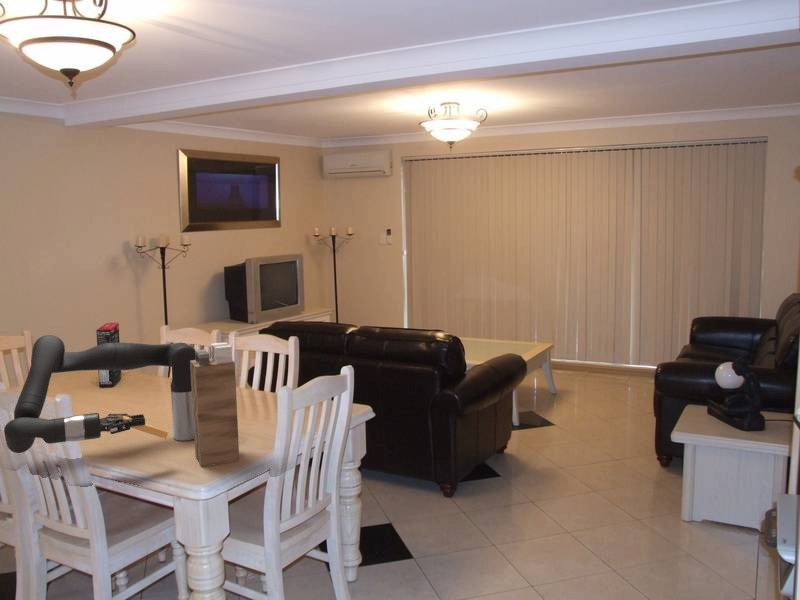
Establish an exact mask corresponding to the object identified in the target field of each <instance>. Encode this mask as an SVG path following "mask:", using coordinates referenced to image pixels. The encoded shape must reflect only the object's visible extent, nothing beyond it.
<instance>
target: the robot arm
mask: <svg viewBox="0 0 800 600" xmlns="http://www.w3.org/2000/svg"><path fill="white" fill-rule="evenodd" d="M195 350H196V349H195V347H192V346H191V345H189V344H188V343H185V342H174V343H163V344H145V343H136V342H120V343H105V344H101V345H98V346H97V345H96V346H93V347H91V348H88V349H85V350H81V351H72V352H71V351H68V352H66V347H65V343H64V342H63V340H62V339H61V338H60V337H58V336H56V335H51V334H46V335H43V336H41V337H39V338H38V339H36V341H35V342H34V343H33V345H32V350H31V357H30V367H29V370H28V373H27V377H26V379H25V382H24V385H23V387H22V389H21V391H20V395H19V396H18V400H17V402H16V405H15V408H14V411H13V419H11V420H10V421H8V422H7V423H6V424H5V426H4V430H3V434H4V437H5V443H6V446H7V448H8V450H9V451H10V452H13V453H15V454H21V453H22V454H23V453H24V452H25V453H26V452H27V451H29V449H30V448H31V447H32V446H33V445H34V443H35V440H36V438H37V439H42V441H44V443H46V444H57V443H58V444H60V443H65V442H80V441H85V440H86V441H88V440H96V439H100V438H101V437H102V436H101V435H102V434H101V433H103V432H104V433H105V432H106V433H110V435H114V434H119V433H123V432H126V431H130V430H131V429H133V428H132V427H133V426H140V425H145V423H146V418H145V415H144V414H143V413H142V414H133V415H131V414H128V413H108V414H107V416H105V417H101V418H100V413H99V412H93V413H92V412H91V413H85V414H77V415H76V414H74V415H70V416H67V417H59V418H52V419H48V418H47V419H46V418H40V416H41V414H42V411H43V408H44V404H45V402H46V398H47V394H48V391H49V384H50V380H51V377H52V374H54V373H55V374H57V373H66V372H67V373H68V372H77V371H78V372H80V371H98V370H121V371H129V370H131V371H132V370H136V369H141V368H145V367H153V366H155V367H157V366H159V367H169V368H171V382H170V395H171V396H170V397H171V410H172V411H171V413H172V429H173V430H172V432H173V439H174V440H176V441H191V440H194V423H193V405H192V387H191V369H190V361H191V360H196V358H195ZM123 416H126V417H129V418H132V419H125V420H124V419H123V418H122V417H123ZM125 424H126V426H124V425H125Z"/></svg>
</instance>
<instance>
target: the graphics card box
mask: <svg viewBox="0 0 800 600" xmlns="http://www.w3.org/2000/svg"><path fill="white" fill-rule="evenodd" d="M95 331H96V332H95V333H96V346H98V345H101V344H105V343H121V342H120V324H119V322H107V323H105V324H103V325H102V326H100V327H99V328H97V329H95ZM97 371H98V387H99V388H115V387H114V386H115V385H117V384H118V383H119V382H120V380H122V370H97Z"/></svg>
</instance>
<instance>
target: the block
mask: <svg viewBox="0 0 800 600" xmlns="http://www.w3.org/2000/svg"><path fill="white" fill-rule="evenodd" d="M122 418H123V419H124V420H125V419H132V418H129V417H126V416H123V417H122ZM124 426H126V424H125V425H124ZM131 429H134V430H137V431H140V432H144V433H147V434H149V435H153V436H156V437H159V438H163V439H164V440H165V439H167V438H168V435H169V431H168V430H167V429H165V428H162V427H158V426H156V425H153V424H150V423H147V422H145V425H140V426H133V427H132V428H131Z"/></svg>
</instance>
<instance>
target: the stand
mask: <svg viewBox="0 0 800 600" xmlns="http://www.w3.org/2000/svg"><path fill="white" fill-rule="evenodd" d="M195 358H196V360H191V361H190V369H191V387H192V405H193V423H194V439H193V440H194V452H195V453H194V456H195V459H196V461H197V460H198V461H197V463H198V462H199V463H198V464H199V466H200V468H203V466H204V467H209V465H210V466H214V465H213V464H216V465H221V464H220V463H222V464H227V463H226V462H228V463H233V461H234V462H238V461H240V446H239V444H240V443H239V426H238V425H239V424H238V421H239V420H238V403H237V402H238V401H237V385H236V384H237V383H236V363H235V361H233V347H232V346H231V344H229V343H228V342H215V343H210V353H209V352H208V351H207V350H206V349H198V350H197V349H195Z"/></svg>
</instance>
